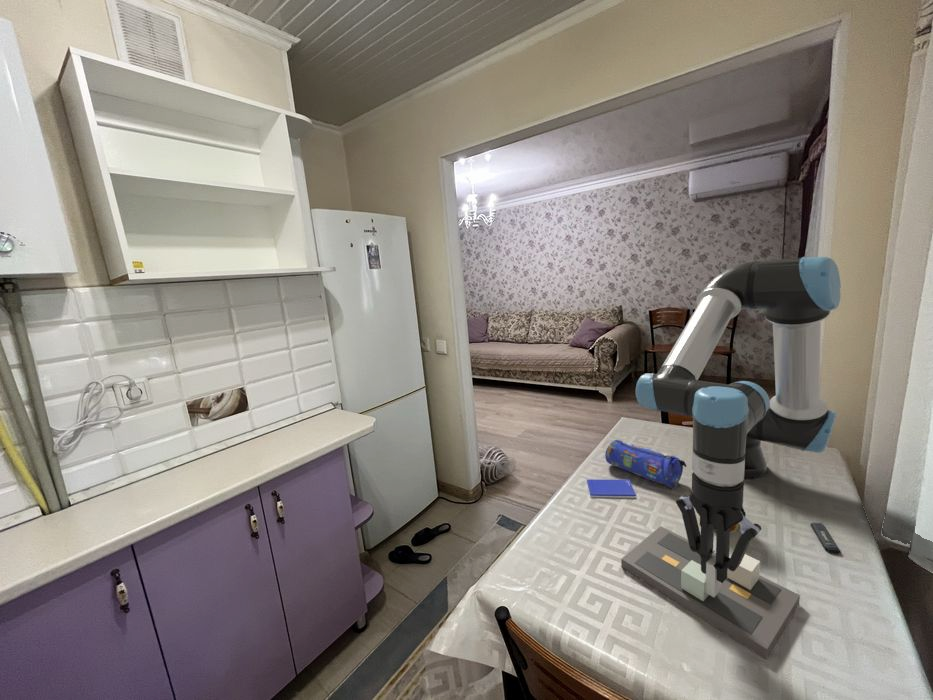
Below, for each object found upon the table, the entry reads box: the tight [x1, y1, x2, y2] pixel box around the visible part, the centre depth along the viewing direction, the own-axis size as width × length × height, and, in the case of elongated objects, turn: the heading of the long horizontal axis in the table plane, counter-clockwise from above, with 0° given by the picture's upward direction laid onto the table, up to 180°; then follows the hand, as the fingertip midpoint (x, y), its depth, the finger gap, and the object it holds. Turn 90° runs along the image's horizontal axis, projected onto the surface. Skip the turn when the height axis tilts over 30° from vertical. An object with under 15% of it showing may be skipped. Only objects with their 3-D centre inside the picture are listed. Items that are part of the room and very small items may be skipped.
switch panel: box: [620, 525, 801, 660], centre depth 76 cm, size 16×26×2 cm, turn 35°
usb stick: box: [810, 522, 841, 555], centre depth 84 cm, size 10×3×2 cm, turn 154°
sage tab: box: [681, 560, 709, 601], centre depth 72 cm, size 4×4×4 cm
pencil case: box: [604, 439, 688, 489], centre depth 115 cm, size 22×9×10 cm, turn 37°
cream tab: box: [727, 553, 761, 590], centre depth 73 cm, size 4×4×4 cm
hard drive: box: [586, 478, 637, 499], centre depth 110 cm, size 2×8×12 cm
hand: (713, 590), depth 70 cm, fingers closed
